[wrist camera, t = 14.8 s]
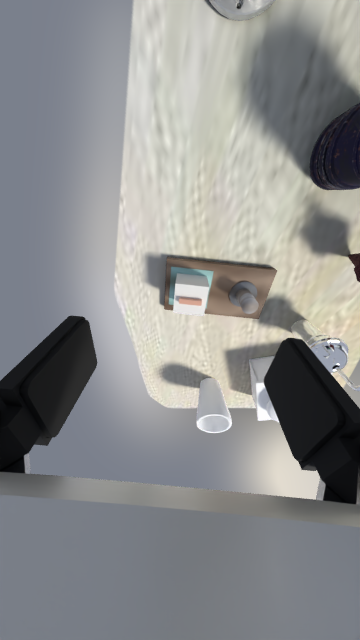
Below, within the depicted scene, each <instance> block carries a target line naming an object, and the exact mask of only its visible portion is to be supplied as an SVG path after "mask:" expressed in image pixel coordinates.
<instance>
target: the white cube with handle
mask: <svg viewBox="0 0 360 640" xmlns="http://www.w3.org/2000/svg"><path fill="white" fill-rule="evenodd" d="M208 292H209V283H208V279H207V276H199V275H190V274H181V273H177V278H176V283H175V295H174V306H173V313H179V314H188V315H198V316H204V313H205V308H206V302H207V297H208Z"/></svg>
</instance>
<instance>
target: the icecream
mask: <svg viewBox="0 0 360 640" xmlns="http://www.w3.org/2000/svg"><path fill="white" fill-rule="evenodd" d="M348 257H349V259H350V260H351V261H352V263H353V264H354V266H355V268H354V271H355V274H356V277H357V280H358V281H359V282H360V253H359V254H351V255H349V256H348Z"/></svg>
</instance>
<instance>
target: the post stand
mask: <svg viewBox="0 0 360 640" xmlns="http://www.w3.org/2000/svg"><path fill="white" fill-rule="evenodd" d="M276 272H277V270H276V269H274V268H266V267H257V266H247V265H238V264H229V263H219V262H210V261H200V260H191V259H181V258H172V257H167V267H166V286H165V305H164V309H166V310H173V306H174V295H175V283H176V278H177V273H181V274H190V275H199V276H207V279H208V283H209V292H208V297H207V302H206V308H205V314H215V315H224V316H234V317H244V318H253V319H259V316H260V314H261V311H262V309H263V306H264V303H265V301H266V298H267V296H268V293H269V290H270V288H271V285H272V282H273V280H274V277H275V275H276Z"/></svg>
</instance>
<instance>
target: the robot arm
mask: <svg viewBox="0 0 360 640" xmlns="http://www.w3.org/2000/svg"><path fill="white" fill-rule="evenodd" d="M209 1H210V2H211V4H212V6H213V7H214V8H215V9H216V10H217V11H218V12H219V13H220V14H222V15H224V16H225V17H227V18H229V19H233V20H238V21H241V20H249V19H251V18H253V17H255V16H258V15H259V14H261V13H262V12H263V11H265V10H266V9H267V8H269V7H270V6H271V5H272V3H273V2H274V1H275V0H209ZM237 6H239V7H240V9H237ZM96 366H97V359H96V354H95V349H94V345H93V340H92V335H91V330H90V325H89V322H88V321H87V320H85V318H84V317H80V316H69V317H68V318H67V319H66V320H65V321H63V322H62V323H61V324H60V325H59V326H58V327H57V328H56V329H55V330H54V331H53V332H52V333H51V334H50V335H49V336H48V337H46V338H45V339H44V340H43V341H42V342H41V343H40V344H39V345H38V346H37V347H36V348H35V349H34V350H33V351H31V352H30V354H28V355H27V356H26V357H25V358H24V359H23V360H22V361H21V362H20V363H19V364H18V365H17V366H16V367H14V368H13V369H12V370H11V371H10V372H9V373H8V374H7V375H6V376H5V377H4V378H3V379H2V380H1V381H0V640H360V409H359V407H358V406H357V405H356V404H355V403H354V401H353V400H352V399H351V398H350V397H349V395H348V394H347V393H346V392H345V390H344V389H343V388H342V387H341V386H340V384H339V383H338V382H337V381H336V379H335V378H334V377H333V376H332V375H331V373H330V372H329V371H328V370H327V368H326V367H325V366H324V365H323V364H322V362H321V361H320V360H319V359H318V358H317V356H316V355H315V354H314V353H313V351H312V350H311V349H310V348H309V347H308V345H307V344H306V343H305V342H304V341H303V340H302V339H296V338H287V339H286V340H285V341H283V342H282V343H281V345H280V347H279V349H278V351H277V353H276V355H275V357H274V359H273V361H272V363H271V365H270V367H269V369H268V371H267V373H266V375H265V377H264V385H265V388H266V390H267V393H268V395H269V398H270V400H271V403H272V405H273V408H274V410H275V413H276V415H277V417H278V420H279V422H280V425H281V427H282V430H283V432H284V435H285V437H286V440H287V442H288V444H289V447H290V449H291V452H292V454H293V456H294V458H295V459H296V460H297V461H298V462H299V464H300V466H301V468H302V470H310V471H316V470H317V471H318V473H319V475H320V481H319V486H318V491H317V496H316V500H313V499H302V498H292V497H282V496H271V495H261V494H251V493H241V492H230V491H220V490H209V489H199V488H188V487H177V486H166V485H155V484H145V483H133V482H122V481H110V480H100V479H88V478H76V477H65V476H53V475H39V474H31V472H30V461H29V451H30V450H31V448H32V447H33V445H34V444H36V445H46V446H47V445H48V444H49V442H50V440H51V438H52V437H55V436H56V435H58V433H59V431H60V430H61V428H62V426H63V424H64V423H65V421H66V419H67V417H68V416H69V414H70V412H71V410H72V409H73V407H74V405H75V403H76V402H77V400H78V398H79V396H80V394H81V393H82V391H83V389H84V387H85V386H86V384H87V382H88V380H89V379H90V377H91V375H92V373H93V372H94V370H95V368H96Z"/></svg>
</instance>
